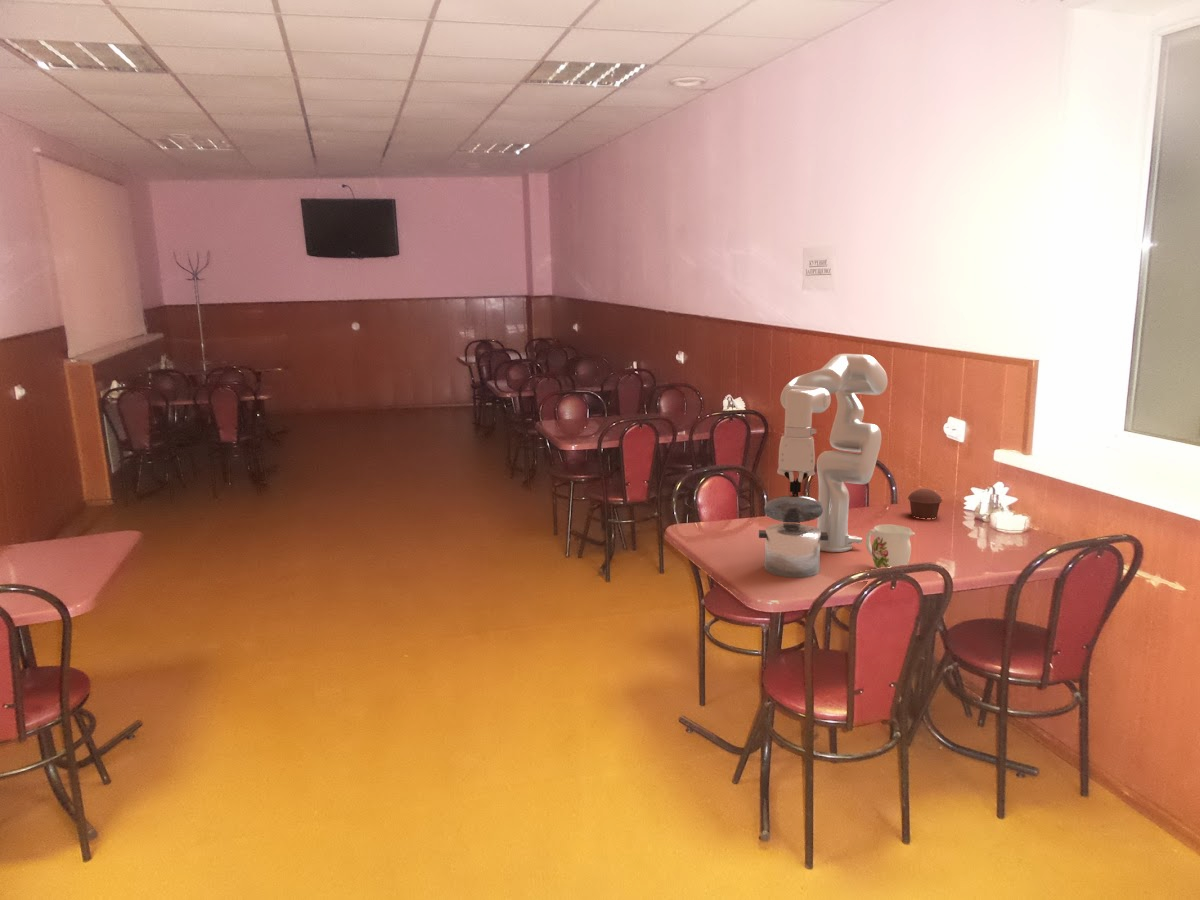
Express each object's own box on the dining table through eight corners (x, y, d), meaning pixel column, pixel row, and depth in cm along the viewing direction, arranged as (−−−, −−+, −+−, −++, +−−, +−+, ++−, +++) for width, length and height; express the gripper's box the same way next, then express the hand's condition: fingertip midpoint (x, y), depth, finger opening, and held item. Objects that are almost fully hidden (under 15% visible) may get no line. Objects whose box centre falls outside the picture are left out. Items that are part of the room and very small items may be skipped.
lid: (763, 522, 266) (763, 513, 267) (819, 524, 263) (819, 515, 265) (765, 498, 251) (765, 489, 252) (825, 500, 248) (825, 491, 249)
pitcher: (878, 559, 267) (881, 516, 264) (924, 576, 251) (927, 531, 248) (851, 565, 262) (854, 521, 259) (896, 583, 246) (899, 536, 243)
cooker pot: (823, 560, 266) (824, 523, 264) (828, 579, 250) (830, 539, 247) (757, 557, 269) (758, 520, 267) (758, 576, 253) (759, 536, 250)
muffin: (941, 514, 318) (942, 488, 316) (941, 522, 308) (943, 494, 306) (907, 511, 322) (908, 485, 320) (906, 519, 312) (907, 492, 310)
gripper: (823, 431, 250) (820, 492, 254) (770, 429, 253) (768, 490, 256) (825, 435, 243) (822, 498, 246) (771, 433, 245) (769, 496, 249)
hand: (795, 494), depth 251 cm, fingers closed
